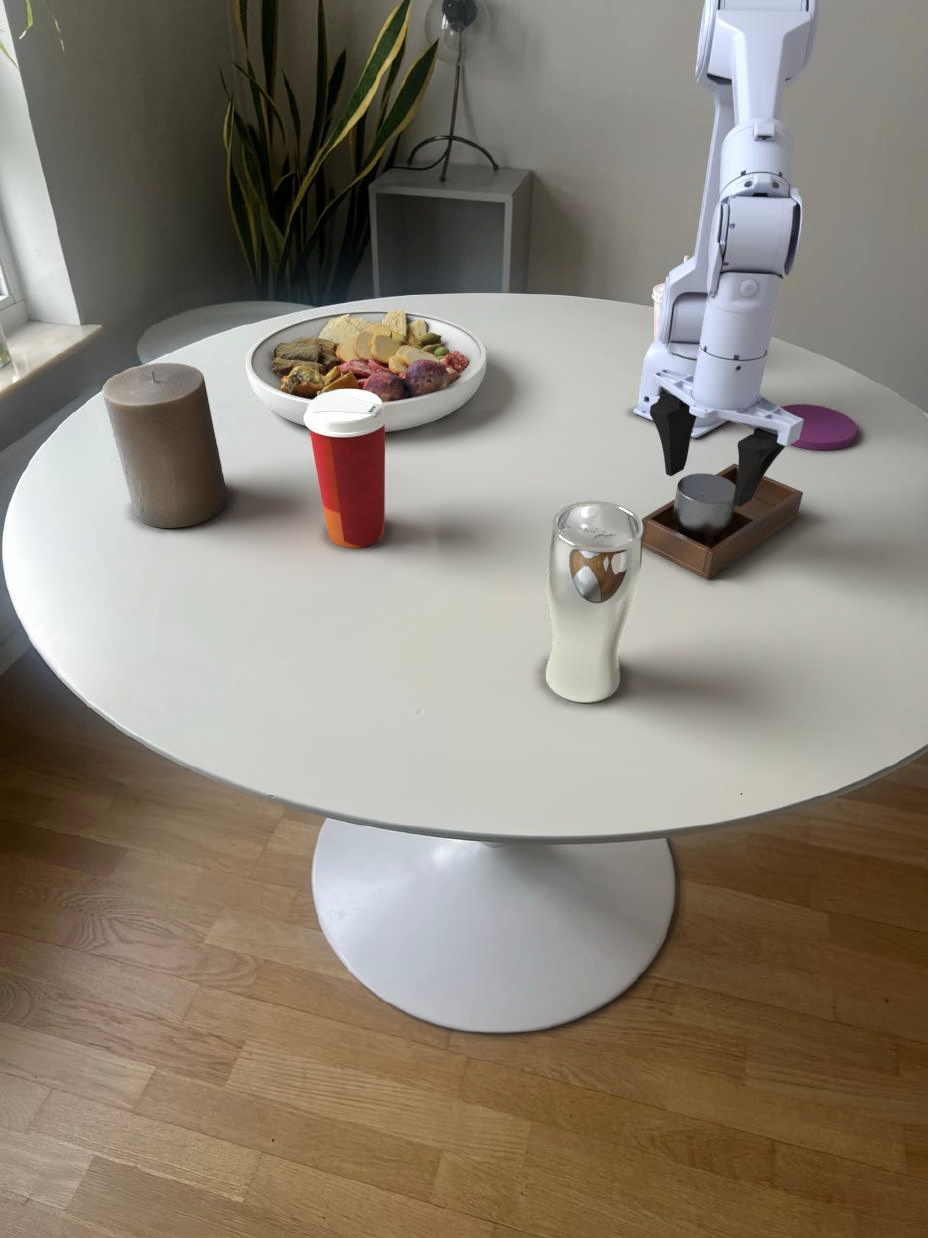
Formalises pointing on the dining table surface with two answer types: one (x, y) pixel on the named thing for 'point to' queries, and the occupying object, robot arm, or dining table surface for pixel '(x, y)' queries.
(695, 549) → the tray
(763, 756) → the dining table surface
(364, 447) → the paper cup
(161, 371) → the pillar candle
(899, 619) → the dining table surface
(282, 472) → the dining table surface
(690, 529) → the grey metal cylinder
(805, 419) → the plum lid
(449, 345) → the bowl
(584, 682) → the beer glass
